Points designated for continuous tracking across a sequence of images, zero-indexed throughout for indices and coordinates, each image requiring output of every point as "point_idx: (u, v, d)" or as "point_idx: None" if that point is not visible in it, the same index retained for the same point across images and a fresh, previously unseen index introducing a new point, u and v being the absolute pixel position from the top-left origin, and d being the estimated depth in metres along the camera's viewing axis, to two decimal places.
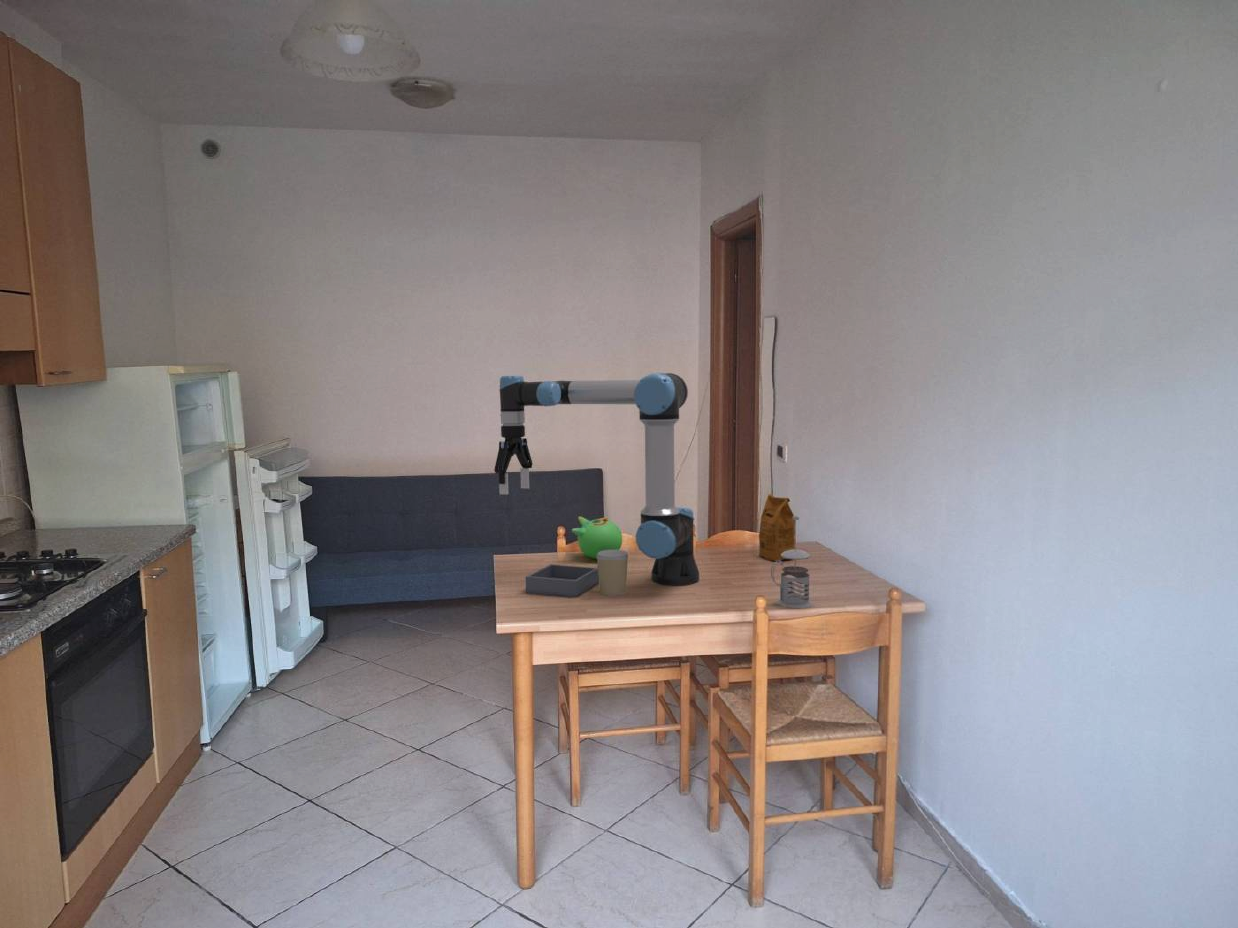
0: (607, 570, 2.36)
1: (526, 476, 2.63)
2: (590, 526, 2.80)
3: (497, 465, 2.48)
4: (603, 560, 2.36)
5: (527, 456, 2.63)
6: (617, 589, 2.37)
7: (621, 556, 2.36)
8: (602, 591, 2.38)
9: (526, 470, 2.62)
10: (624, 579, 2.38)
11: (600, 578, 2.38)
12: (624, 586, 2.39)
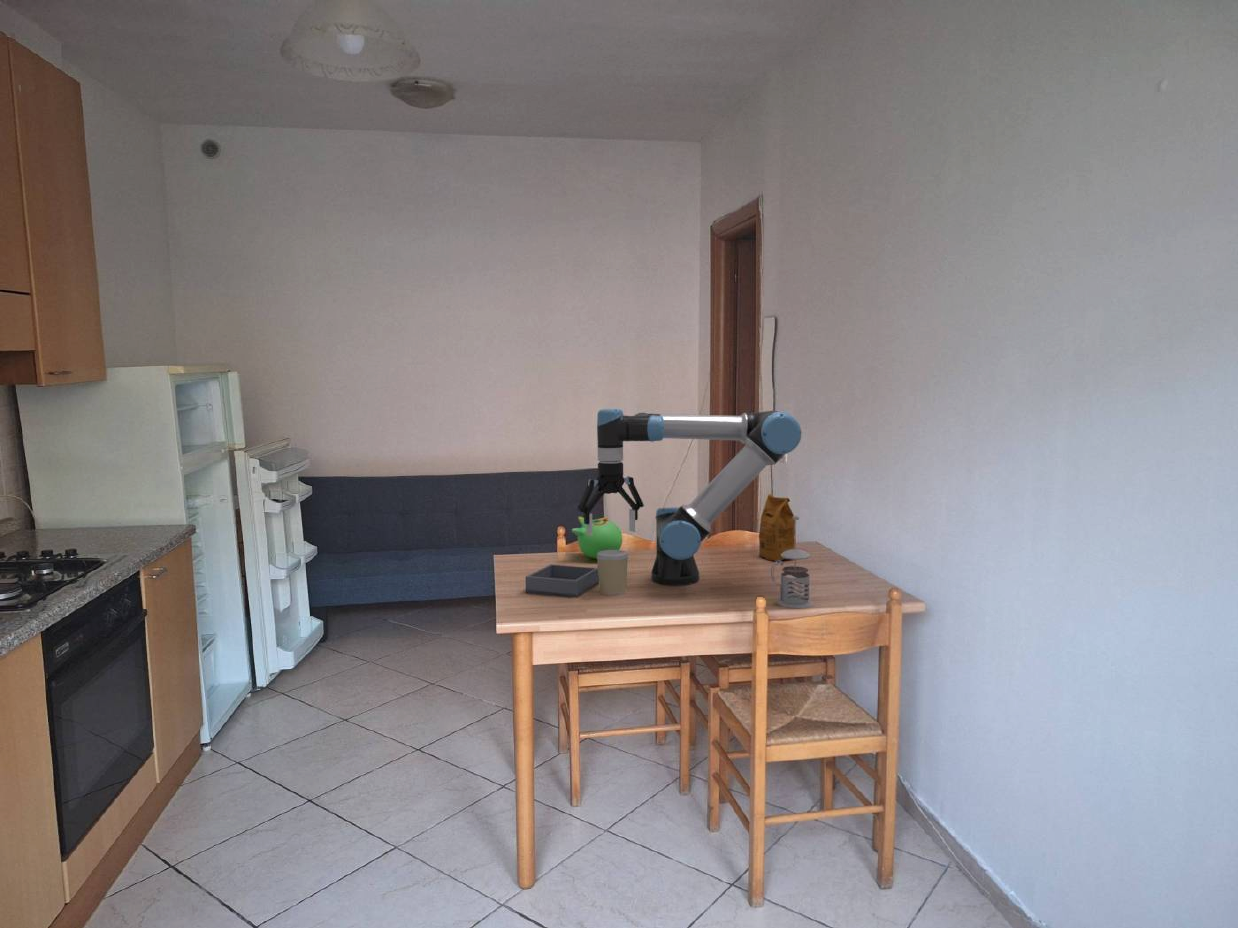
0: (607, 570, 2.36)
1: (632, 518, 2.40)
2: None
3: (580, 504, 2.35)
4: (603, 560, 2.36)
5: (635, 496, 2.40)
6: (617, 589, 2.37)
7: (621, 556, 2.36)
8: (602, 591, 2.38)
9: (632, 512, 2.40)
10: (624, 579, 2.38)
11: (600, 578, 2.38)
12: (624, 586, 2.39)
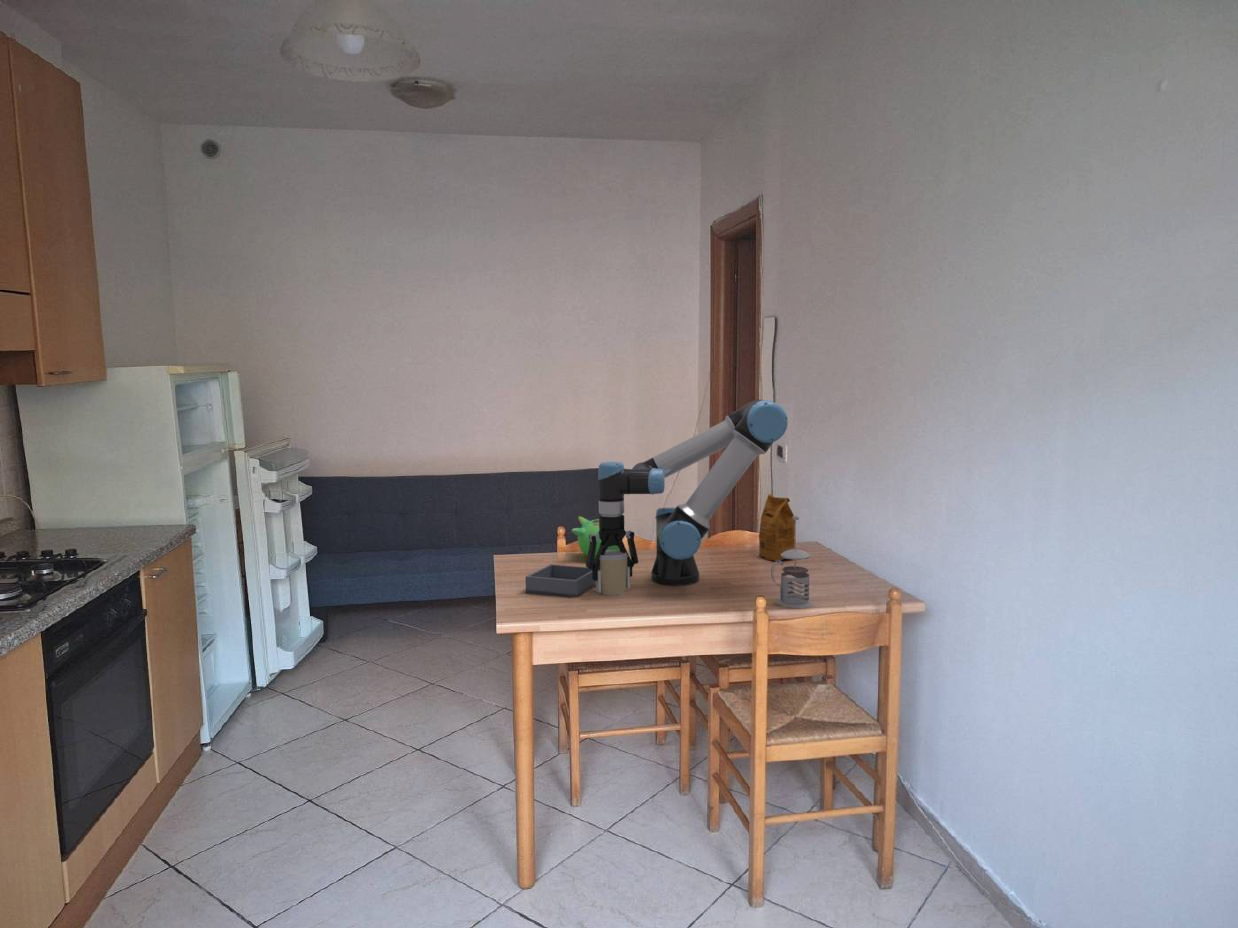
0: (607, 570, 2.36)
1: None
2: (590, 526, 2.80)
3: (587, 561, 2.37)
4: (603, 560, 2.36)
5: (632, 552, 2.41)
6: (617, 588, 2.37)
7: (621, 556, 2.36)
8: (602, 591, 2.38)
9: None
10: (624, 579, 2.38)
11: None
12: (624, 586, 2.39)
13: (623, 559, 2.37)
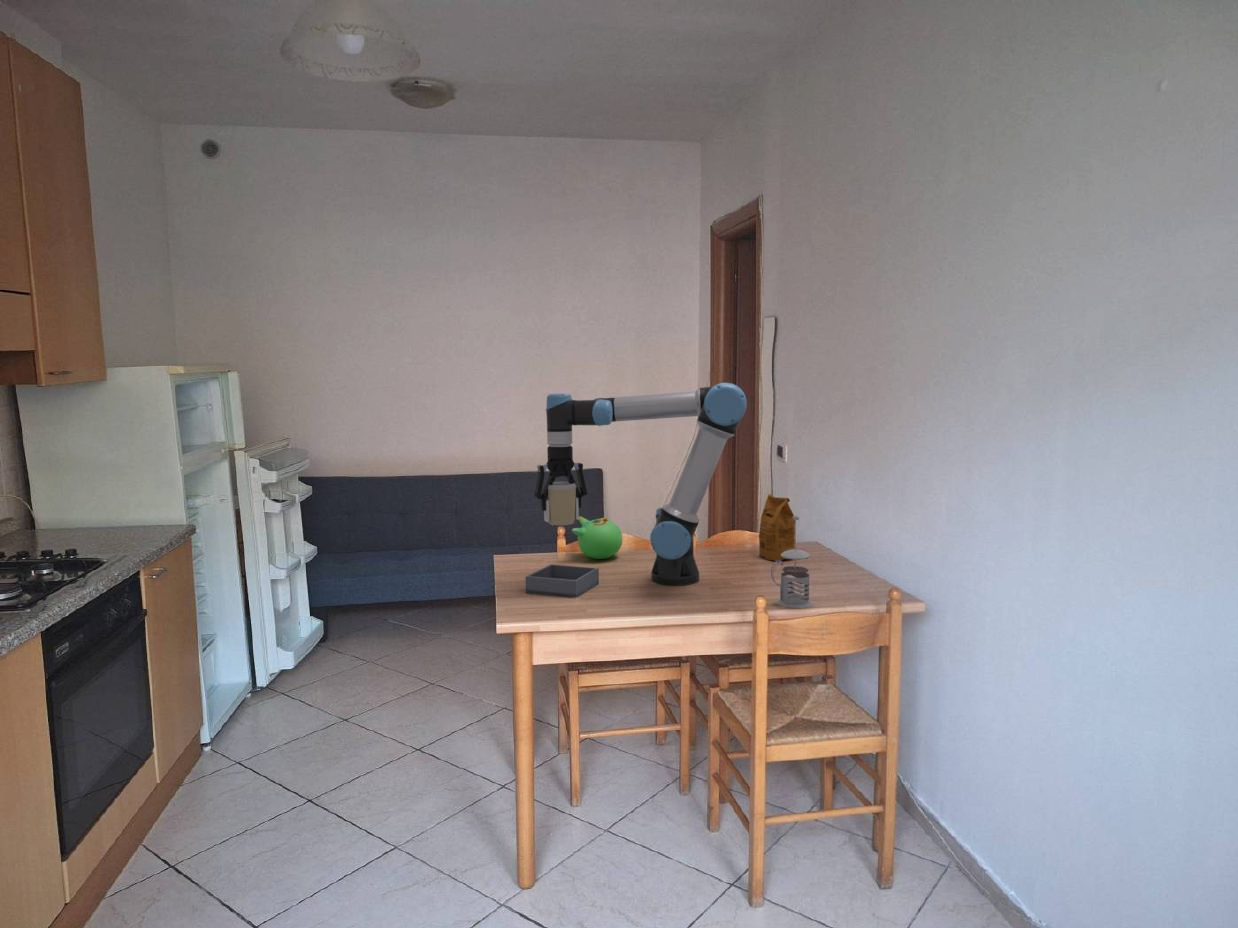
0: (555, 500, 2.39)
1: (575, 506, 2.44)
2: (590, 526, 2.80)
3: (536, 491, 2.40)
4: (551, 490, 2.39)
5: (580, 483, 2.44)
6: (565, 518, 2.40)
7: (569, 486, 2.39)
8: (550, 521, 2.41)
9: (575, 500, 2.44)
10: (572, 509, 2.41)
11: None
12: (572, 516, 2.42)
13: (571, 489, 2.39)
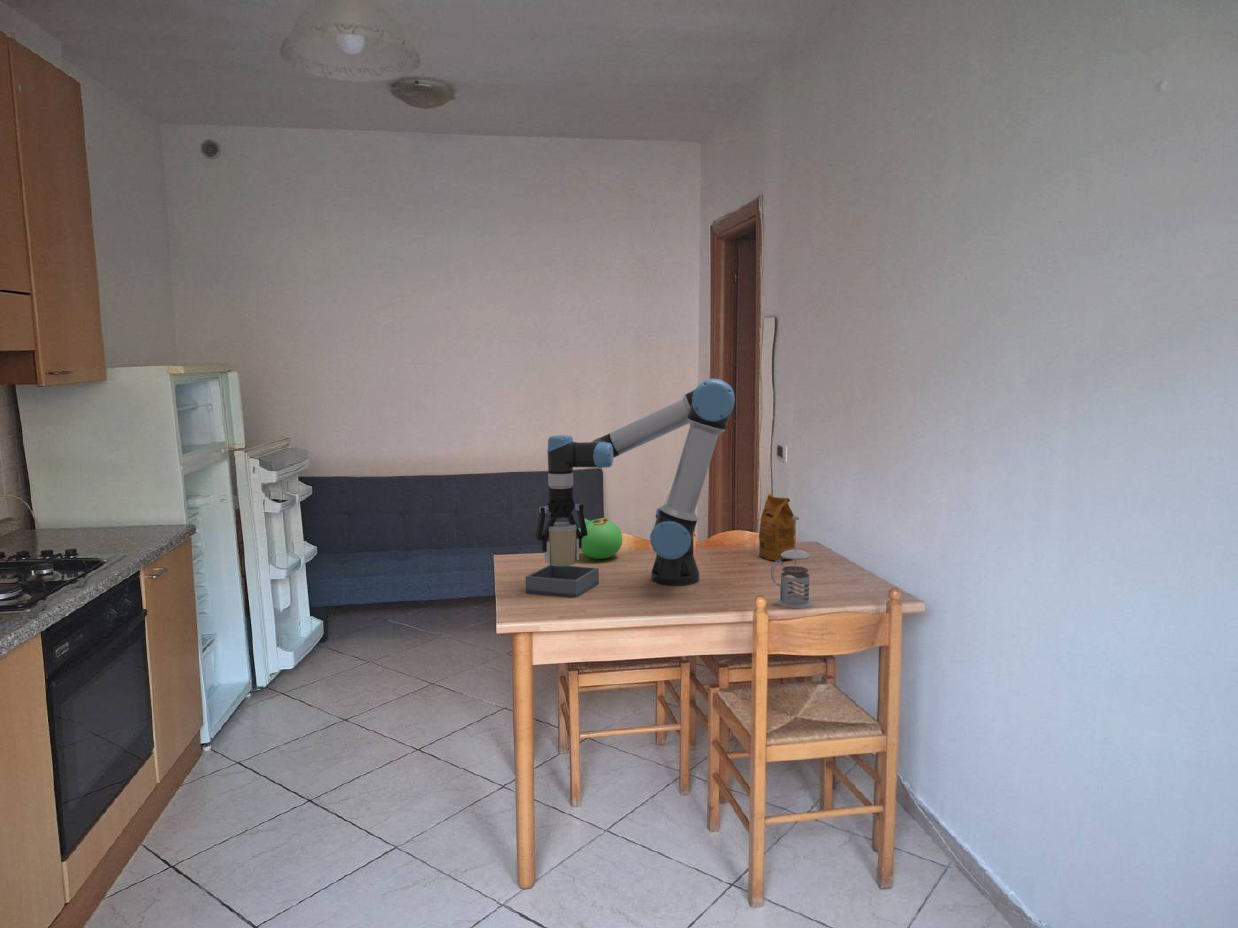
0: (556, 541, 2.40)
1: (576, 547, 2.45)
2: (590, 526, 2.80)
3: (536, 532, 2.41)
4: (551, 531, 2.40)
5: (581, 524, 2.45)
6: (566, 559, 2.41)
7: (569, 527, 2.40)
8: (551, 562, 2.43)
9: (576, 540, 2.45)
10: (572, 550, 2.42)
11: None
12: (573, 557, 2.43)
13: (571, 530, 2.41)
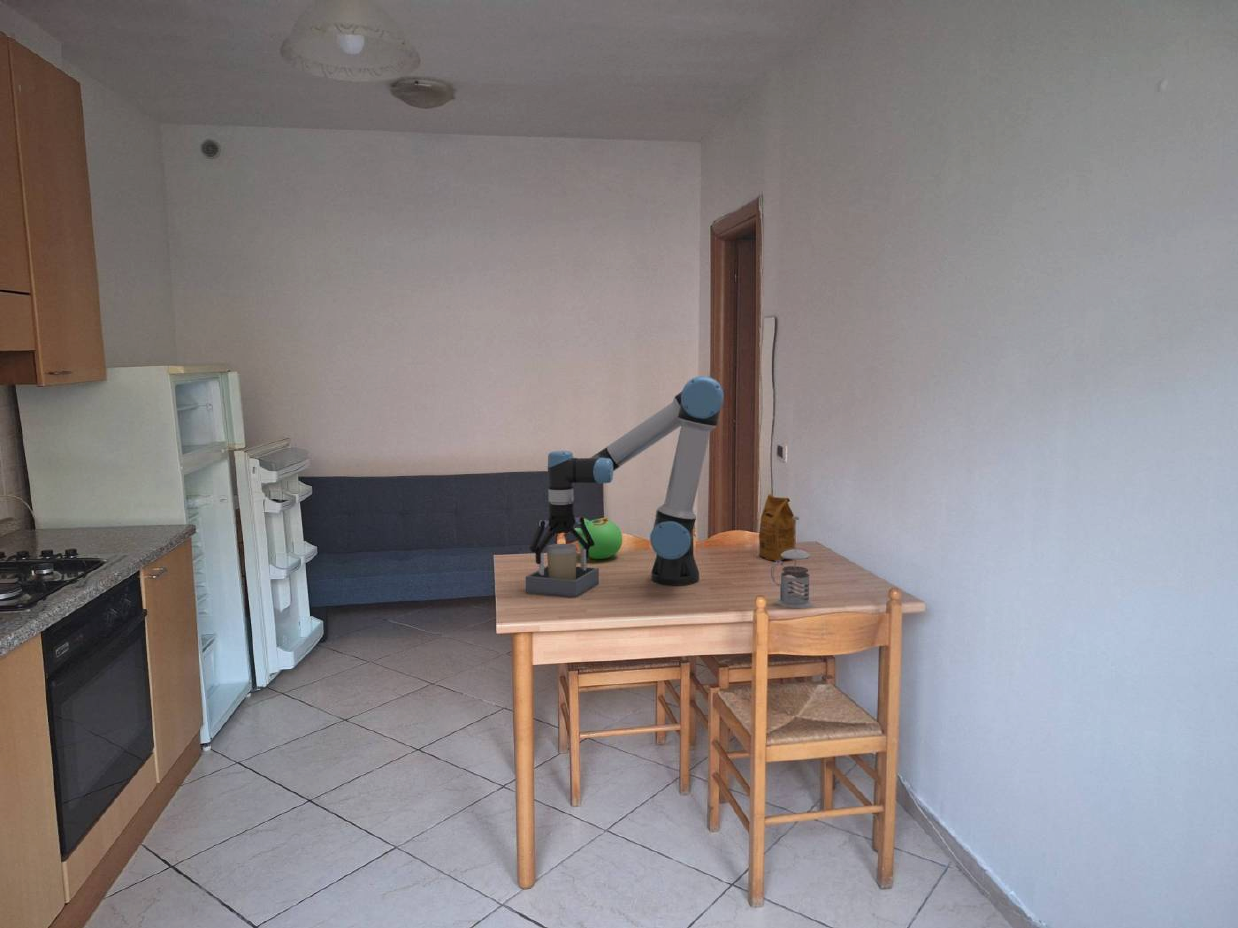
0: (556, 564, 2.41)
1: (583, 557, 2.47)
2: (590, 526, 2.80)
3: (531, 544, 2.41)
4: (552, 553, 2.41)
5: (586, 536, 2.46)
6: None
7: (570, 550, 2.41)
8: None
9: (583, 551, 2.46)
10: (573, 572, 2.43)
11: (549, 571, 2.43)
12: (573, 579, 2.44)
13: (572, 553, 2.42)
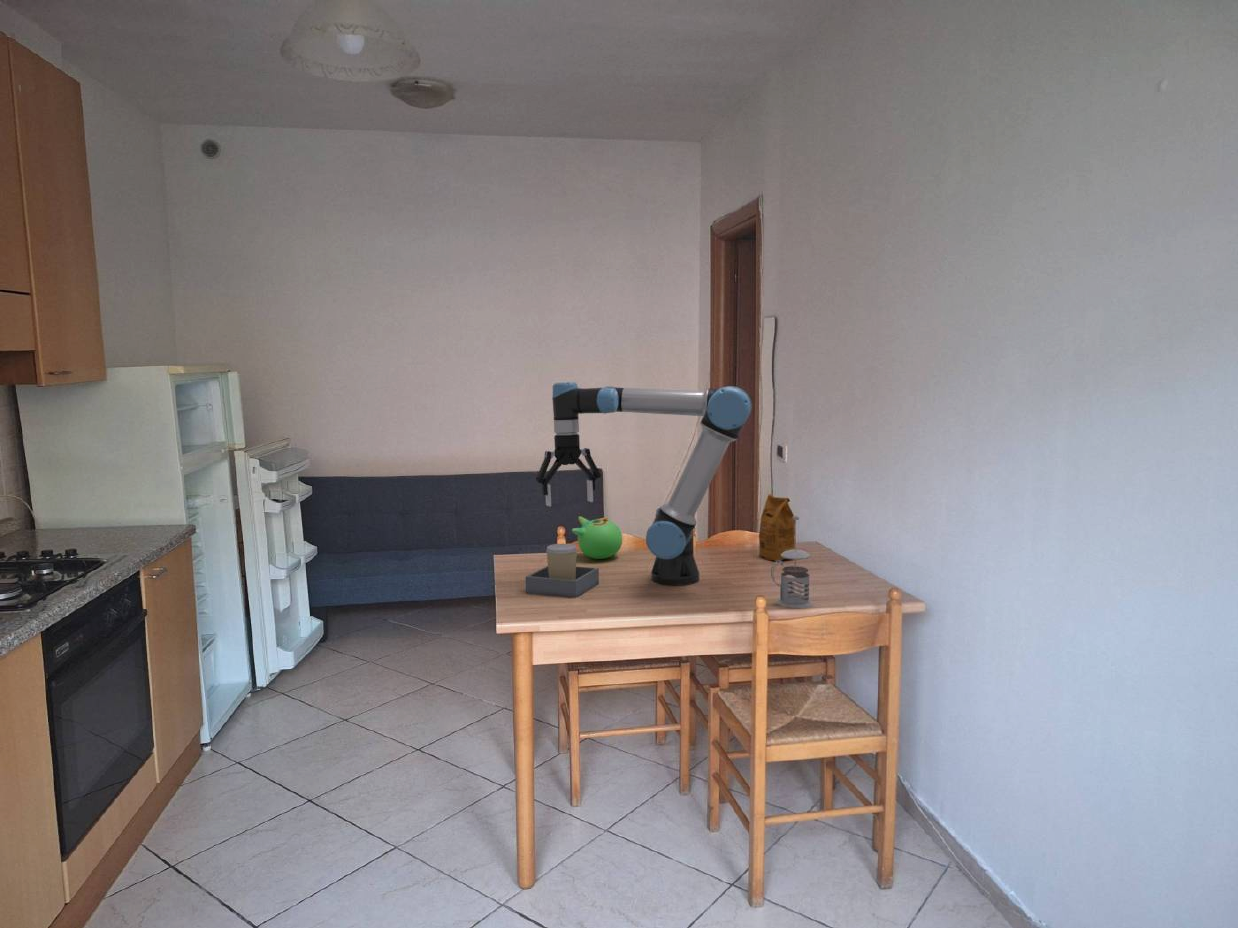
0: (556, 564, 2.41)
1: (589, 489, 2.47)
2: (590, 526, 2.80)
3: (538, 475, 2.41)
4: (552, 554, 2.41)
5: (592, 467, 2.46)
6: None
7: (570, 550, 2.41)
8: None
9: (589, 482, 2.46)
10: (573, 572, 2.43)
11: (549, 571, 2.43)
12: (573, 579, 2.44)
13: (572, 553, 2.42)
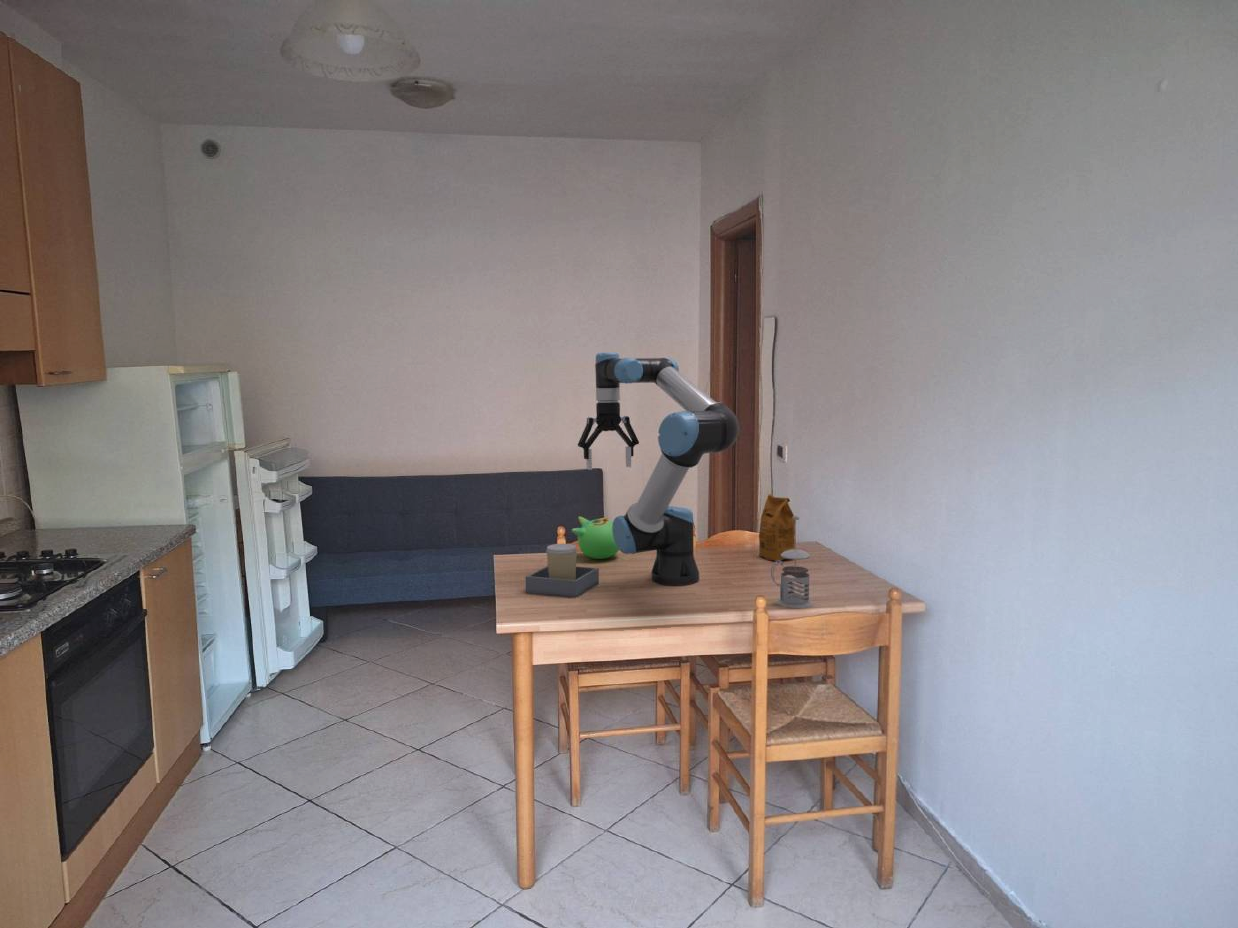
0: (556, 564, 2.41)
1: (628, 455, 2.60)
2: (590, 526, 2.80)
3: (580, 440, 2.54)
4: (552, 554, 2.41)
5: (631, 434, 2.60)
6: None
7: (570, 550, 2.41)
8: None
9: (628, 448, 2.60)
10: (573, 572, 2.43)
11: (549, 571, 2.43)
12: (573, 579, 2.44)
13: (572, 553, 2.42)
